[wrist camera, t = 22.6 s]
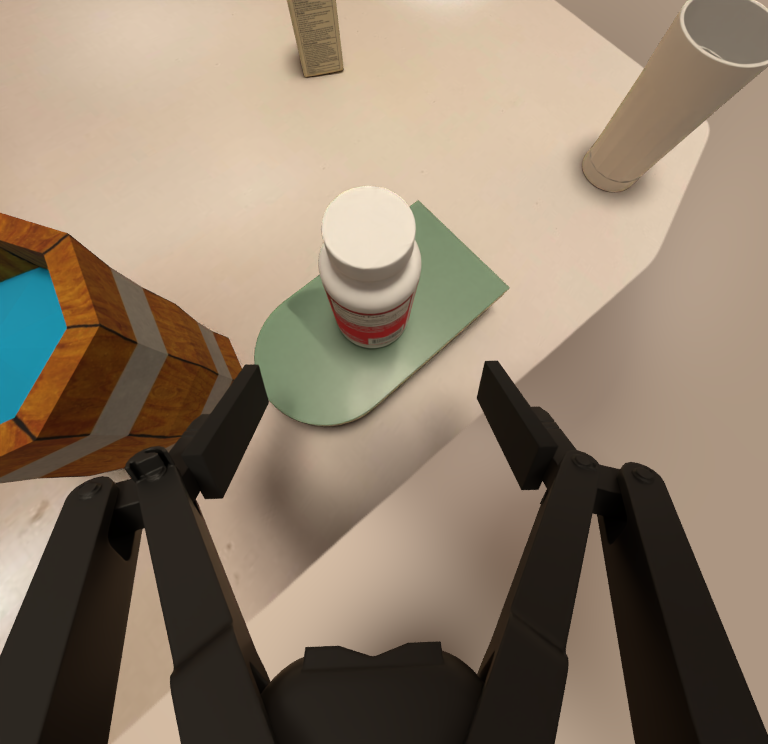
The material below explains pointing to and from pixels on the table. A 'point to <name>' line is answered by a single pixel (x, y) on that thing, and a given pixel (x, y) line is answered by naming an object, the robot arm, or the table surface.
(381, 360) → the green rounded-end slab
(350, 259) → the pill bottle
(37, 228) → the mug
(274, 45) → the table surface
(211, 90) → the table surface
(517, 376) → the table surface
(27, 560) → the table surface
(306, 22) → the small juice carton
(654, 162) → the cup
